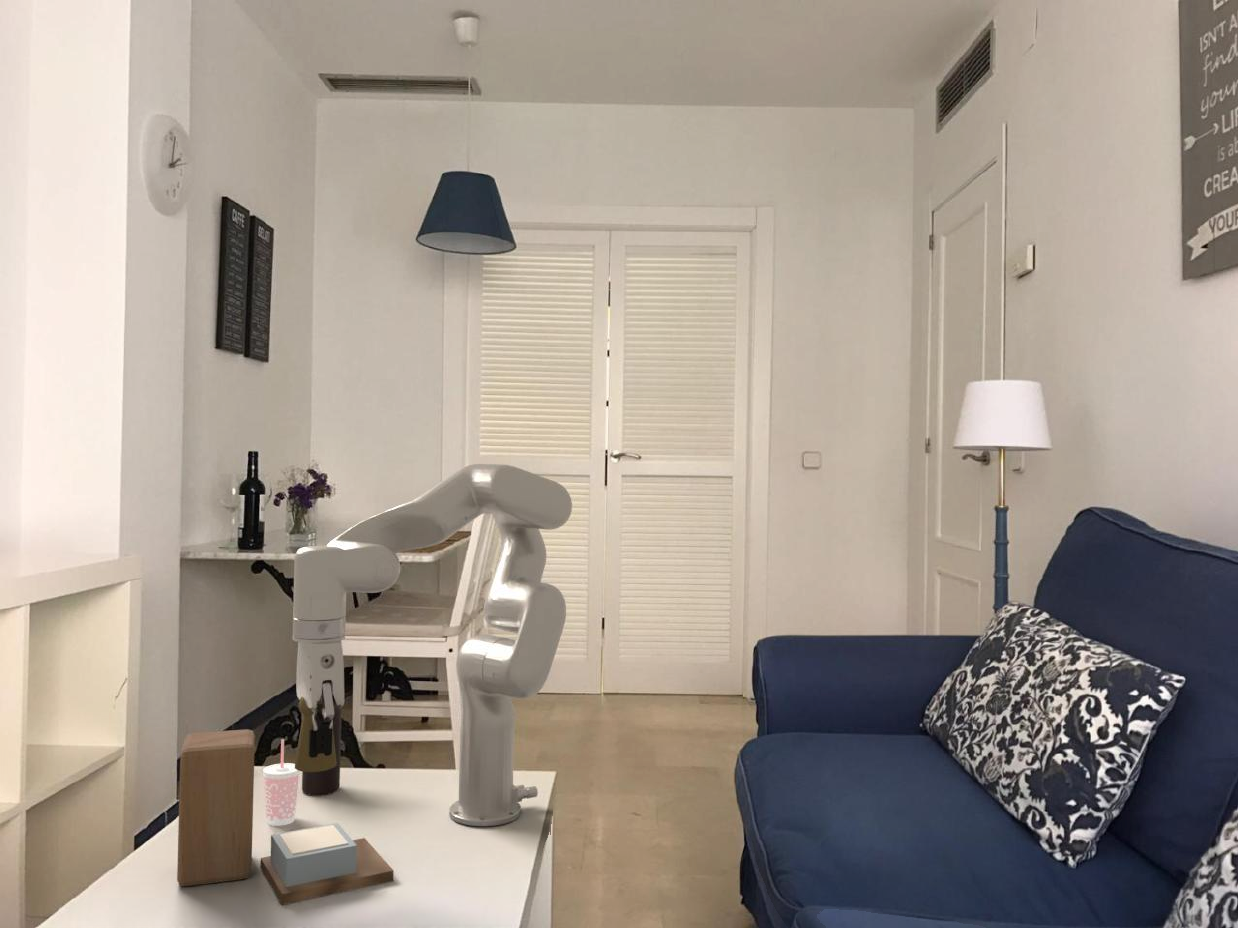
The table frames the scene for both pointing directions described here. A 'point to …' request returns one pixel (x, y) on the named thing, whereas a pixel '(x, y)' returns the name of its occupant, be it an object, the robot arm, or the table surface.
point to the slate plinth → (313, 854)
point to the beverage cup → (281, 791)
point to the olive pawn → (302, 757)
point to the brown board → (367, 874)
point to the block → (216, 807)
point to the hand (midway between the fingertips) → (316, 750)
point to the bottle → (330, 778)
